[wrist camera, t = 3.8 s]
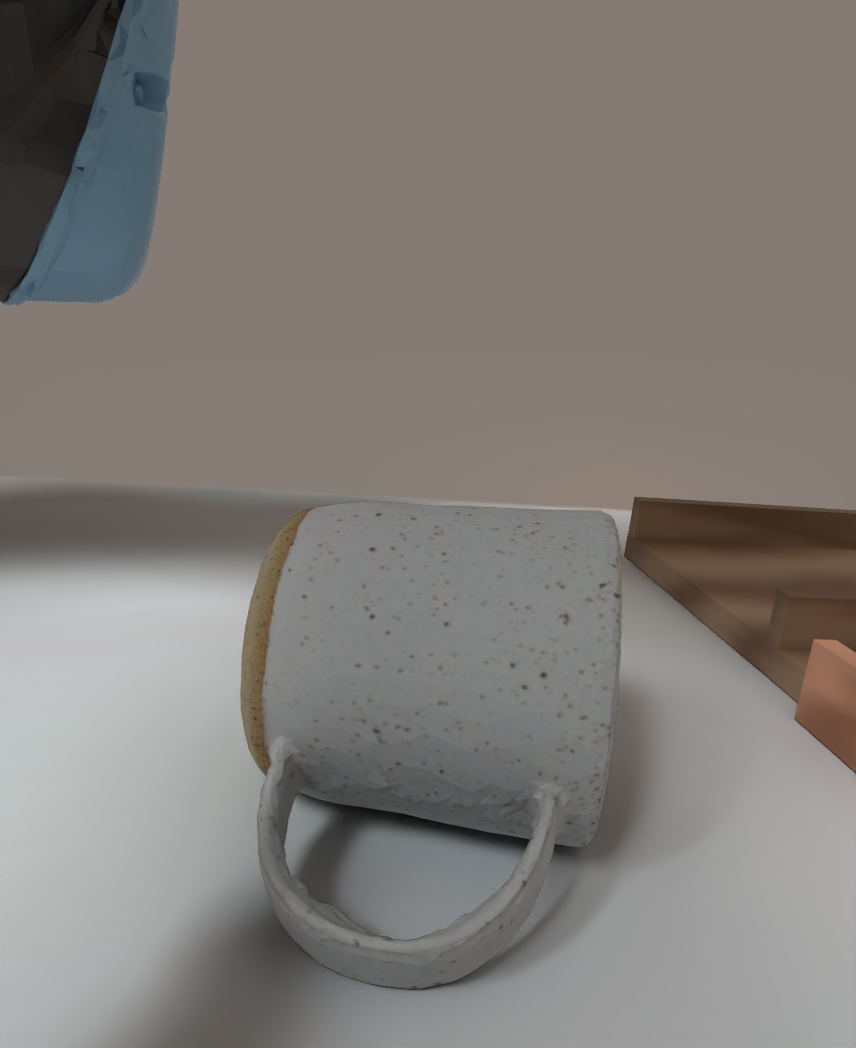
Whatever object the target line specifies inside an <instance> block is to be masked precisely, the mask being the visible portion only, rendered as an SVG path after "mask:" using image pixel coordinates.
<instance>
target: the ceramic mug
mask: <svg viewBox="0 0 856 1048" xmlns="http://www.w3.org/2000/svg"><path fill="white" fill-rule="evenodd" d="M621 573H622V569H621V548H620V544H619V537H618V530H617V527H616V524H615V521H614V520H613V518H612V517H611V516H610V515H608V514H606V513H604V512H601V511H588V510H545V509H517V508H491V507H469V506H428V505H415V504H401V503H389V502H365V501H364V502H351V503H341V504H334V505H328V506H321V507H316V508H311V509H307V510H303V511H302V512H300V513H299V514H297V515H295V516H294V517H293V518H292V519H291V520H290V521H289V522H288V523H287V524H286V525H285V526H284V527H283V528H282V529H281V531H280V532H279V533H278V534H277V535H276V536H275V538H274V540H273V542H272V544H271V546H270V548H269V550H268V552H267V555H266V557H265V559H264V561H263V563H262V565H261V568H260V572H259V575H258V579H257V582H256V585H255V589H254V592H253V595H252V598H251V602H250V607H249V612H248V617H247V621H246V626H245V633H244V642H243V650H242V670H241V713H242V720H243V725H244V730H245V735H246V739H247V743H248V747H249V751H250V752H251V754H252V756H253V758H254V760H255V762H256V764H257V765H258V767H259V768H260V769H261V771H262V772H263V773H264V775H265V776H266V780H265V782H264V784H263V787H262V789H261V798H260V806H259V810H258V815H257V824H258V854H259V860H260V866H261V873H262V877H263V880H264V884H265V887H266V891H267V894H268V897H269V899H270V901H271V904H272V906H273V909H274V911H275V914H276V916H277V918H278V919H279V921H280V922H281V924H282V925H283V927H284V928H285V929H286V931H287V932H288V934H289V935H290V937H291V938H292V939H293V940H294V941H295V942H296V943H297V944H298V945H299V946H300V947H301V948H302V949H303V950H304V951H305V952H307V953H308V954H309V955H310V956H311V957H312V958H314V959H315V960H316V961H317V962H319V963H320V964H321V965H323V966H325V967H327V968H329V969H331V970H333V971H335V972H337V973H339V974H341V975H344V976H346V977H349V978H353V979H356V980H360V981H363V982H366V983H370V984H374V985H380V986H387V987H395V988H404V989H421V988H426V987H431V986H435V985H440V984H445V983H449V982H453V981H455V980H458V979H460V978H462V977H463V976H465V975H467V974H469V973H471V972H472V971H474V970H475V969H477V968H478V967H480V966H481V965H482V964H484V963H485V962H487V961H488V960H490V959H491V958H492V957H494V956H495V955H497V954H498V953H499V952H500V951H501V950H502V949H503V948H504V947H505V946H506V945H507V944H508V943H509V942H510V940H511V939H512V938H513V937H514V935H515V934H516V933H517V931H518V930H519V928H520V927H521V926H522V924H523V923H524V921H525V920H526V918H527V917H528V916H529V914H530V912H531V910H532V908H533V905H534V903H535V901H536V899H537V897H538V895H539V893H540V890H541V887H542V885H543V882H544V879H545V876H546V874H547V871H548V868H549V865H550V862H551V860H552V856H553V850H554V845H555V844H559V845H566V846H573V847H580V848H581V847H584V846H587V845H589V844H590V843H591V841H592V839H593V837H594V835H595V832H596V829H597V827H598V825H599V820H600V815H601V810H602V806H603V801H604V797H605V793H606V788H607V782H608V776H609V769H610V762H611V755H612V749H613V741H614V729H615V720H616V712H617V703H618V681H619V666H620V658H621V648H620V640H621V611H622V595H621ZM298 792H300V793H303V794H306V795H308V796H311V797H314V798H316V799H320V800H324V801H328V802H332V803H337V804H344V805H351V806H358V807H365V808H372V809H377V810H383V811H390V812H396V813H403V814H407V815H411V816H415V817H419V818H424V819H428V820H433V821H437V822H442V823H447V824H452V825H457V826H462V827H467V828H471V829H476V830H480V831H485V832H491V833H497V834H504V835H510V836H515V837H521V838H526V839H530V841H529V843H528V846H527V847H526V849H525V851H524V853H523V855H522V857H521V858H520V860H519V862H518V864H517V866H516V868H515V869H514V871H513V873H512V875H511V877H510V878H509V879H508V880H507V882H506V883H505V884H504V885H503V886H502V887H501V889H500V890H499V891H497V892H496V893H495V894H494V895H492V896H491V897H490V898H489V899H487V900H486V901H485V902H484V903H482V904H481V905H480V906H479V907H477V908H476V909H475V910H474V911H473V912H471V913H467V914H464V915H463V916H461V917H460V918H459V919H457V920H456V921H455V922H454V923H453V924H452V925H451V926H449V927H448V928H447V929H442V930H437V931H435V932H433V933H431V934H429V935H426V936H423V937H420V938H418V939H412V940H399V939H391V938H389V937H382V936H375V935H373V934H371V933H369V932H367V931H365V930H364V929H362V928H360V927H358V926H356V925H355V924H354V923H353V922H352V921H351V920H350V919H349V918H348V917H347V916H346V915H345V914H344V913H343V912H342V911H341V910H340V909H339V908H338V907H337V906H333V905H328V904H325V903H322V902H319V901H315V900H314V899H313V898H312V897H311V896H310V894H309V892H308V890H307V888H306V886H305V885H304V884H303V883H301V882H300V881H299V880H297V879H296V878H294V877H293V876H292V875H290V872H289V869H288V866H287V863H286V860H285V857H286V855H285V848H284V844H285V839H286V833H287V826H288V818H289V815H290V812H291V809H292V805H293V802H294V799H295V797H296V795H297V794H298Z"/></svg>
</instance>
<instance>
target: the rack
mask: <svg viewBox="0 0 856 1048" xmlns="http://www.w3.org/2000/svg"><path fill="white" fill-rule="evenodd" d="M624 556H625V557H627V558H628V559H629V560H630V561H631V562H632V563H634V564H635V565H636V566H637V567H638V568H640V569H641V570H642V571H643V572H644V573H645V574H647V575H648V576H649V577H650V578H651V579H653V580H654V581H655V582H656V583H657V584H658V585H660V586H661V587H662V588H663V589H664V590H666V591H667V592H668V593H669V594H670V595H671V596H673V597H674V598H675V599H676V600H677V601H678V602H680V603H681V604H682V605H683V606H684V607H686V608H687V609H688V610H689V611H690V612H691V613H693V614H694V615H695V616H696V617H697V618H699V619H700V620H701V621H702V622H703V623H704V624H706V625H707V626H708V627H709V628H710V629H712V630H713V631H714V632H715V633H716V634H717V635H719V636H720V637H721V638H722V639H723V640H724V641H726V642H727V643H728V644H729V645H730V646H732V647H733V648H734V649H735V650H736V651H737V652H739V653H740V654H741V655H742V656H743V657H745V658H746V659H747V660H748V661H749V662H750V663H752V664H753V665H754V666H755V667H756V668H758V669H759V670H760V671H761V672H762V673H763V674H765V675H766V676H767V677H768V678H769V679H771V680H772V681H773V682H774V683H775V684H776V685H778V686H779V687H780V688H781V689H782V690H783V691H785V692H786V693H787V694H788V695H789V696H791V697H792V698H793V699H794V700H795V701H796V702H798V706H797V710H796V714H795V719H796V720H797V721H798V722H799V723H800V724H801V725H803V726H804V727H805V728H806V729H807V730H808V731H809V732H810V733H812V734H813V735H814V736H815V737H816V738H817V739H818V740H819V741H821V742H822V743H823V744H824V745H825V746H826V747H827V748H829V749H830V750H831V751H832V752H833V753H834V754H835V755H836V756H838V757H839V758H840V759H841V760H842V761H843V762H844V763H845V764H847V765H848V766H849V767H850V768H851V769H852V770H853V771H854V772H856V510H839V509H824V508H808V507H790V506H775V505H759V504H742V503H726V502H709V501H693V500H678V499H662V498H660V499H659V498H645V497H634V503H633V509H632V515H631V521H630V527H629V533H628V536H627V542H626V548H625V554H624Z"/></svg>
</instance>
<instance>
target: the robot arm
mask: <svg viewBox="0 0 856 1048" xmlns="http://www.w3.org/2000/svg"><path fill="white" fill-rule="evenodd" d="M178 4H179V0H0V302H2V303H3V304H5V305H21V304H23V303H25V302H26V301H52V302H85V303H100V302H103V301H107V300H111V299H113V298H114V297H117V296H120V295H122V294H124V293H126V292H127V291H129V290H130V288H132V286H133V285H134V284H135V283H137V281H138V279H139V278H140V276H141V274H142V271H143V269H144V267H145V264H146V260H147V256H148V251H149V246H150V241H151V236H152V230H153V225H154V218H155V212H156V206H157V199H158V191H159V184H160V177H161V169H162V161H163V154H164V144H165V134H166V125H167V105H166V100H167V97H168V96H169V91H170V80H171V69H172V64H173V59H174V52H175V41H176V30H177V17H178Z"/></svg>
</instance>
